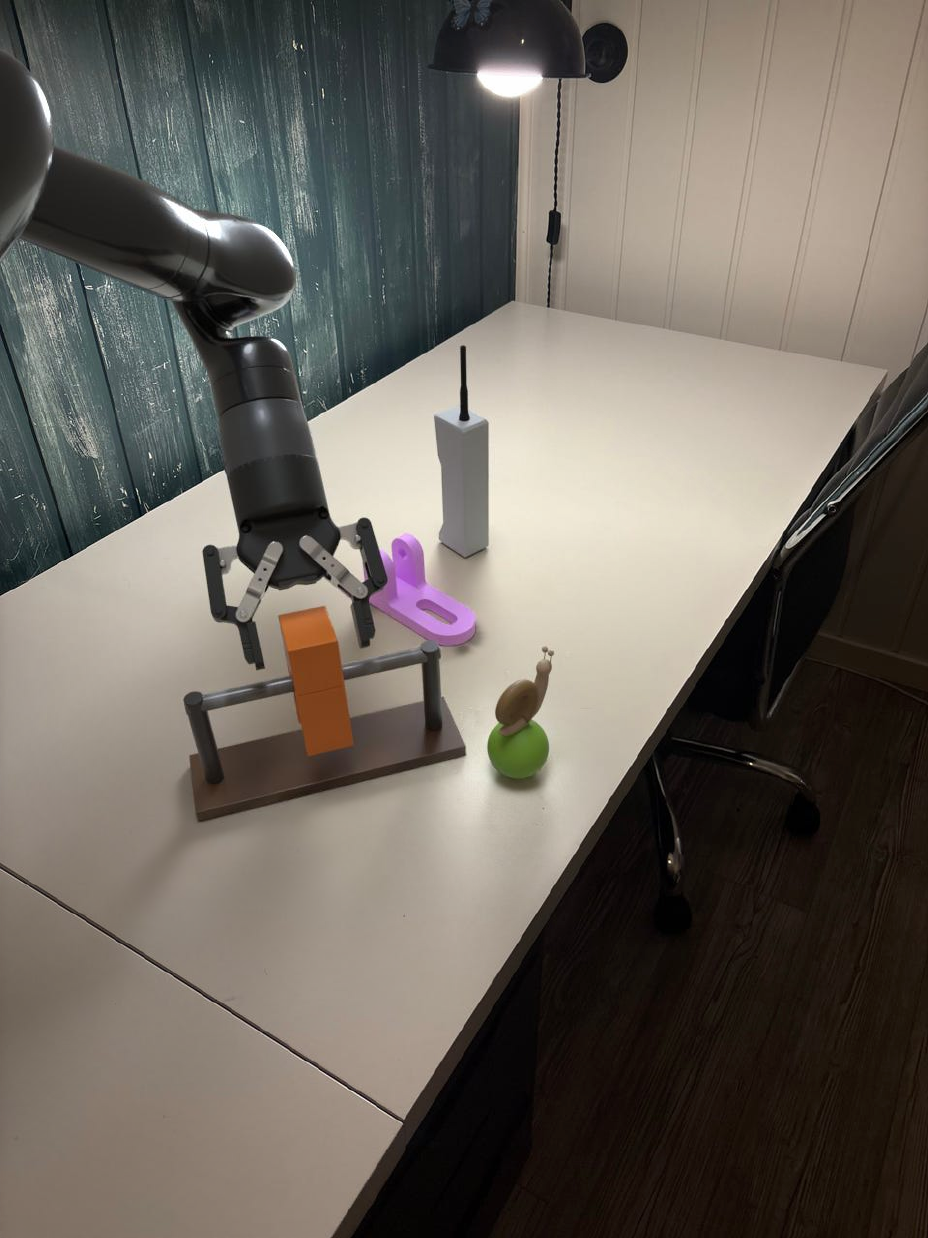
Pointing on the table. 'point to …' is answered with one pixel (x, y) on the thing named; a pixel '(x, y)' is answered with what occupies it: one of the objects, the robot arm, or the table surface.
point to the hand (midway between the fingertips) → (313, 657)
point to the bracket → (419, 597)
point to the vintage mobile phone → (463, 473)
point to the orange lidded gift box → (317, 679)
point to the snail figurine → (521, 726)
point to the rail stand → (287, 770)
